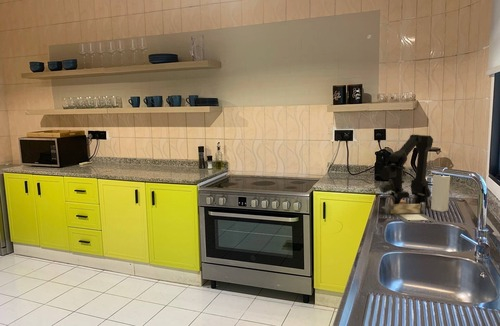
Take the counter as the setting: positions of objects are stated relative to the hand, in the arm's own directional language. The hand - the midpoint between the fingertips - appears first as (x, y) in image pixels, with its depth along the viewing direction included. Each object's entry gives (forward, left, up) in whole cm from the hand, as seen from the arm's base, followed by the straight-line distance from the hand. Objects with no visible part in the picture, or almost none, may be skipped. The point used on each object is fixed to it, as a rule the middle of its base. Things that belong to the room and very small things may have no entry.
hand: (395, 207), depth 208 cm
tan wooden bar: (-4, +4, -2) cm, 5 cm away
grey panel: (-5, +3, -3) cm, 7 cm away
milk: (-26, -4, -3) cm, 26 cm away
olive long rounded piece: (-4, +3, -3) cm, 6 cm away
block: (-5, -8, -2) cm, 9 cm away
